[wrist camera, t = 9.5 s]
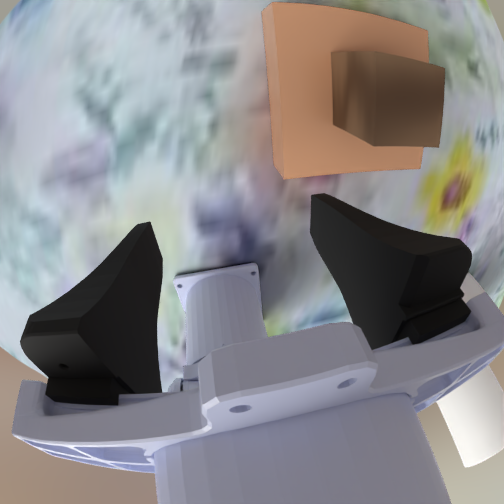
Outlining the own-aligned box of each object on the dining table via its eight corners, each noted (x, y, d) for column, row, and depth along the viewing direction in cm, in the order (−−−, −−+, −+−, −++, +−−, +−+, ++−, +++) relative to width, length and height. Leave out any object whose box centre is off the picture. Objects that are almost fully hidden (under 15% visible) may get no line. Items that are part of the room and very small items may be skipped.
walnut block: (392, 125, 16) (438, 147, 13) (332, 124, 16) (373, 146, 12) (394, 60, 13) (444, 68, 9) (330, 52, 13) (375, 51, 9)
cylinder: (408, 349, 47) (461, 461, 25) (392, 319, 38) (467, 474, 16) (471, 300, 43) (534, 403, 21) (473, 254, 33) (566, 388, 11)
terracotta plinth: (400, 156, 21) (420, 169, 19) (273, 164, 20) (284, 179, 18) (404, 30, 14) (427, 30, 12) (261, 11, 13) (271, 2, 11)
